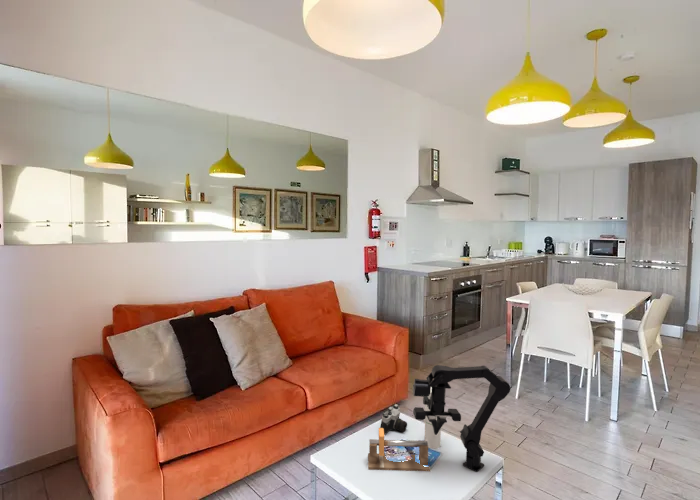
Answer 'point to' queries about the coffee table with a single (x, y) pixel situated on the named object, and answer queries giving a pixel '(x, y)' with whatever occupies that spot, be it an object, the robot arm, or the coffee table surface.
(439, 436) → the cylindrical container
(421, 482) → the coffee table surface
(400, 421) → the camera
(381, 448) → the collar
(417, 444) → the pipe
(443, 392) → the robot arm
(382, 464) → the stand
